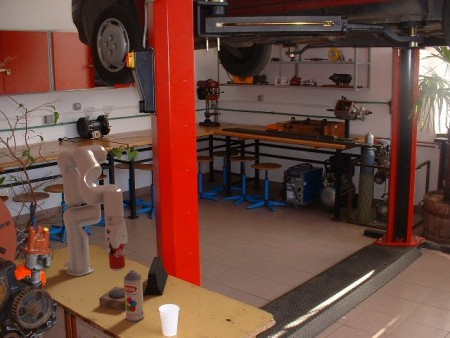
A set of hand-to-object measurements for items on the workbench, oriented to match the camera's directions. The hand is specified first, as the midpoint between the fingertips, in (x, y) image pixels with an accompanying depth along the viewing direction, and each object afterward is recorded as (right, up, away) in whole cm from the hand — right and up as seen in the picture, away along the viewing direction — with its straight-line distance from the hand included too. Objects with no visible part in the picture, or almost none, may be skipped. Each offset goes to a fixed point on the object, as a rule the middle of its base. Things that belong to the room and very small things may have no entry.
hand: (117, 261), depth 226 cm
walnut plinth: (+1, -18, +3) cm, 18 cm away
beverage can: (0, -3, 0) cm, 3 cm away
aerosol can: (+9, -20, -10) cm, 25 cm away
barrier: (+13, -14, +21) cm, 29 cm away
